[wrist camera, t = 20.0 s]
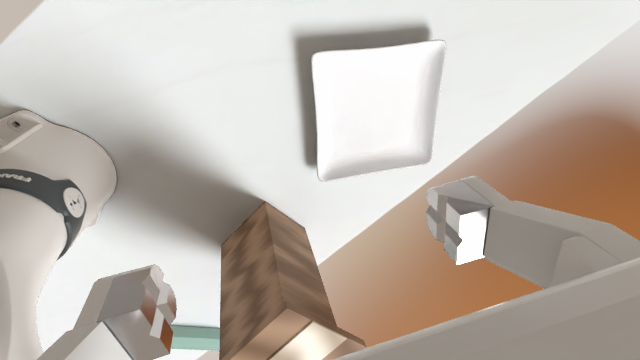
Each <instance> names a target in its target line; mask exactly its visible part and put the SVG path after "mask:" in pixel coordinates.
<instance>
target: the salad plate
mask: <svg viewBox="0 0 640 360" xmlns="http://www.w3.org/2000/svg"><path fill="white" fill-rule="evenodd" d="M445 59H446V43H445V41H443V40H429V41H422V42H416V43H409V44H403V45H395V46H386V47H377V48H363V49H345V50H328V51H319V52H316V53H314V54H313V55H312V58H311V70H312V81H313V92H314V101H315V114H316V132H317V175H318V179H319V180H320V181H322V182H326V181H334V180H340V179H346V178H351V177H357V176H362V175H367V174H373V173H378V172H384V171H390V170H396V169H403V168H409V167H416V166H421V165H426V164H428V163H429V162H430V161H431V159H432V155H433V148H434V140H435V131H436V124H437V115H438V107H439V99H440V93H441V86H442V79H443V72H444V66H445Z"/></svg>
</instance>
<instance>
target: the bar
mask: <svg viewBox="0 0 640 360" xmlns="http://www.w3.org/2000/svg"><path fill="white" fill-rule="evenodd" d="M170 327H171V329H172V330H173V337H172V344H171V349H195V350H220V328H207V327H192V326H176V325H170Z"/></svg>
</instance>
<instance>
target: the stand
mask: <svg viewBox="0 0 640 360" xmlns="http://www.w3.org/2000/svg"><path fill="white" fill-rule="evenodd" d="M365 348H366V345H365V342H364V341H363V340H362V339H360V338H358V337H356V336H354V335H352V334H350V333H348V332H346V331H344V330H342V329H340V328H338V327H337V325H336V322H335V319H334V316H333V313H332V310H331V307H330V304H329V301H328V298H327V295H326V292H325V289H324V285H323V282H322V279H321V277H320V273H319V270H318V268H317V264H316V261H315V258H314V255H313V252H312V249H311V246H310V243H309V240H308V237H307V234H306V231H305V228H304V227H302V226H301V225H299V224H298V223H296V222H295V221H293V220H292V219H291V218H289V217H288V216H286V215H285V214H283V213H282V212H280V211H279V210H277V209H276V208H274V207H273V206H271V205H270V204H268V203H267V202H266V201H265V202H264V203H263V204H262V205H261V206H260V207H259V208H258V209H257V210H256V211H255V212H254V213H253V214H252V215H251V216H250V217H249V218H248V219H247V220H246V221H245V222H244V223H243V224H242V225H241V226H240V227H239V228H238V229H237V230H236V231H235V232H234V233H233V234H232V235H231V236H230V237H229V238H228V239H227V240H226V241H225V242H224V244H223V245H222V250H221V302H220V357H219V360H333V359H336V358H339V357H342V356H345V355H348V354H351V353H354V352H357V351H360V350H363V349H365Z"/></svg>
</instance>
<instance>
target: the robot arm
mask: <svg viewBox="0 0 640 360" xmlns="http://www.w3.org/2000/svg"><path fill="white" fill-rule="evenodd" d="M15 121H16V122H18V123H19V124H20V126H18V125H16V124H15ZM116 183H117V175H116V170H115V166H114V164H113V162H112V160H111V158H110V157H109V155H108V154H107V153H106V151H105V150H104V149H103V148H102V147H101V146H100V145H99V144H97V143H96V142H95V141H93V140H92V139H91V138H89V137H87V136H86V135H84V134H82V133H79V132H77V131H75V130H72V129H69V128H65V127H62V126H58V125H55V124H52V123H50V122H48V121H46V120H45V119H43V118H42V117H40V116H38V115H37V114H35V113H33V112H30V111H27V110H20V111H17V112H15V113H13V114H10V115H8V116H6V117H4V118H1V119H0V360H153V359H156V358H159V357H162V356H165V355H168V354H170V350H171V344H172V337H173V330H172V329H171V327H170V324H171V323H172V322H173V320H174V319H175V318H176V310H177V308H176V298H175V295H174V292H173V290H172V288H171V286H170V285H169V284H166V283H164V282H162V280H163V275H164V274H163V272H162V271H161V269H160V267H159V266H158V265H151V266H147V267H143V268H139V269H135V270H131V271H127V272H123V273H119V274H117V275H112V276H108V277H105V278H101V279H98V280H97V281H96V282H95V283H94V285H93V287H92V289H91V291H90V293H89V296H88V298H87V300H86V302H85V304H84V307H83V309H82V311H81V313H80V315H79V318H78V320H77V322H76V324H75V326H74V328H73V330H70V331H67V332H66V333H65V334H64V335H62V336H61V337H60V338H59V339H58V340H57V341H56V342H55V343H54V344H53V345H52V346H51V347H50V348H48V349H47V350H46V351H45V352H44V353H43V350H42V347H41V343H40V339H39V335H38V328H37V316H36V314H37V303H38V298H39V295H40V292H41V290H42V288H43V285H44V283H45V281H46V279H47V277H48V275H49V273H50V271H51V269H52V267H53V266H54V264H55V262H56V260H58V259H59V258H61V257H62V256H63V255H64V254H65V253H66V251H67V250H68V249H69V248H70V247H71V246H72V244H73V243H74V242H75V241H76V240H77V239H78V238H79V236H80V235H81V234H82V233H83V231H84V230H85V229H86V228H87V226H92V225H94V224H95V223H96V222H97V221H98V220H99V218H100V214H101V209H102V207H103V205H104V204H105V203H106V202H107V201H108V199H109V198H110V197H111V196H112V194H113V192H114V190H115V187H116ZM426 200H427V202H428V203H429V204H430V206H429V208H428V210H427V211H426V221H427V225H428V228H429V230H430V232H431V234H432V235H433V237H434V238H435V239H436V240H438V241H440V242H443V243H445V245H444V250H445V251H446V252H447V253H448V255H449V256H450V257H451V258H452V259H453V260H454V262H455V263H456V264H460V263H464V262H467V261H471V260H475V259H478V258H482V257H484V259H486V260H488V261H490V262H492V263H494V264H496V265H498V266H500V267H502V268H504V269H506V270H508V271H510V272H512V273H514V274H516V275H518V276H520V277H522V278H524V279H527V280H528V281H530V282H532V283H534V284H536V285H539V286H541V287H542V288H544V289H543V290H540V291H537V292H534V293H531V294H528V295H525V296H522V297H519V298H516V299H513V300H510V301H507V302H504V303H501V304H498V305H495V306H492V307H489V308H486V309H483V310H480V311H477V312H474V313H471V314H468V315H465V316H462V317H459V318H456V319H453V320H450V321H447V322H444V323H441V324H438V325H435V326H432V327H429V328H426V329H423V330H420V331H417V332H414V333H411V334H408V335H405V336H402V337H399V338H396V339H393V340H390V341H387V342H384V343H381V344H378V345H375V346H372V347H369V348H366V349H363V350H360V351H357V352H354V353H351V354H348V355H345V356H342V357H339V358H336V359H333V360H640V241H639V240H637V239H635V238H634V237H632V236H630V235H629V234H627V233H625V232H624V231H622V230H621V229H619V228H617V227H615V226H614V225H612V224H609V223H605V222H601V221H597V220H593V219H589V218H585V217H581V216H577V215H573V214H569V213H565V212H561V211H557V210H553V209H549V208H545V207H541V206H537V205H533V204H528V203H525V202H521V201H512V202H511V201H510V200H508V199H507V198H506V197H504V196H503V195H502V194H500V193H499V192H497V191H496V190H495V189H494V188H492V187H491V186H489V185H488V184H487V183H485V182H484V181H482V180H481V179H480V178H478V177H477V176H469V177H466V178H463V179H460V180H458V181H455V182H451V183H448V184H444V185H440V186H437V187H433V188H430V189H428V190H427V193H426Z"/></svg>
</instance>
